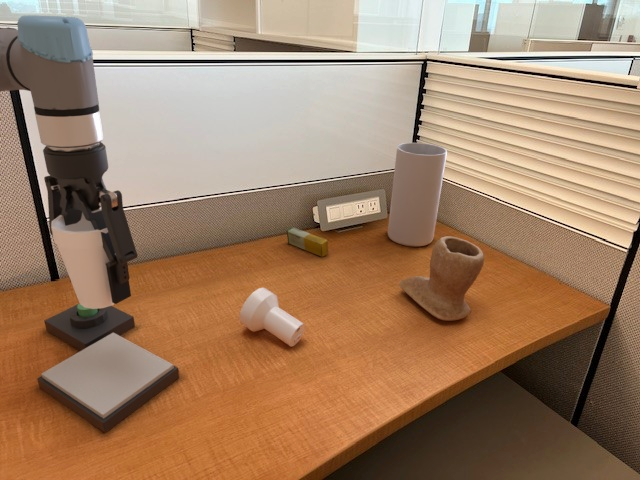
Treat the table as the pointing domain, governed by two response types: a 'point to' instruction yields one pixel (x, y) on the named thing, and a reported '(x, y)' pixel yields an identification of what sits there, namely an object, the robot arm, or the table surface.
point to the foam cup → (84, 260)
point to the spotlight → (270, 317)
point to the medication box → (307, 241)
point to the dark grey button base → (88, 326)
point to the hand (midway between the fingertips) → (100, 288)
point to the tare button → (86, 311)
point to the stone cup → (447, 279)
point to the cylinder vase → (416, 193)
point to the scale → (108, 380)
